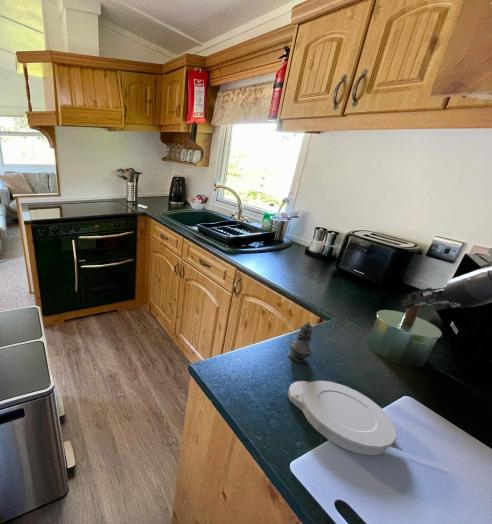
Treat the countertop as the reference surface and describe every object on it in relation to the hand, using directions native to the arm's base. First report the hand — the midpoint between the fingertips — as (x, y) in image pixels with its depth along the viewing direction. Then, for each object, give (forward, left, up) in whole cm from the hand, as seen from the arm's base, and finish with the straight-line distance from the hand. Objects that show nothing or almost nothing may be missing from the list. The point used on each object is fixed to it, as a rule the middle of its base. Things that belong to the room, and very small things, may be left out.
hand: (419, 306), depth 81 cm
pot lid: (+1, -1, -7) cm, 7 cm away
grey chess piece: (+29, +16, -17) cm, 37 cm away
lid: (+23, +35, -17) cm, 45 cm away
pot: (+1, -1, -17) cm, 17 cm away
